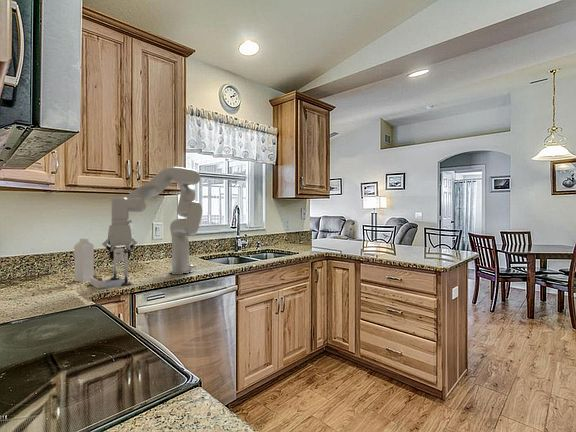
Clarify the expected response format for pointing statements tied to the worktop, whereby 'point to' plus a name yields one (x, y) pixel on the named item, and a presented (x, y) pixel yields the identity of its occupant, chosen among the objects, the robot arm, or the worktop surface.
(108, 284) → the mat
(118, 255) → the power adapter
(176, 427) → the worktop surface
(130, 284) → the cord post
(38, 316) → the worktop surface
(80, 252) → the milk
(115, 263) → the cord post
